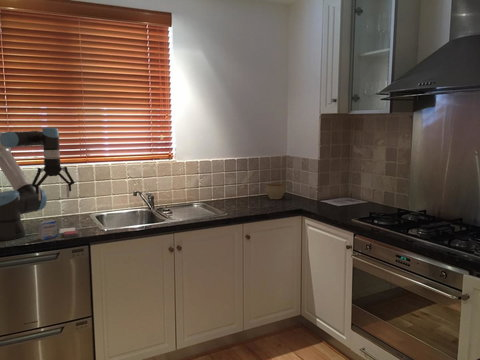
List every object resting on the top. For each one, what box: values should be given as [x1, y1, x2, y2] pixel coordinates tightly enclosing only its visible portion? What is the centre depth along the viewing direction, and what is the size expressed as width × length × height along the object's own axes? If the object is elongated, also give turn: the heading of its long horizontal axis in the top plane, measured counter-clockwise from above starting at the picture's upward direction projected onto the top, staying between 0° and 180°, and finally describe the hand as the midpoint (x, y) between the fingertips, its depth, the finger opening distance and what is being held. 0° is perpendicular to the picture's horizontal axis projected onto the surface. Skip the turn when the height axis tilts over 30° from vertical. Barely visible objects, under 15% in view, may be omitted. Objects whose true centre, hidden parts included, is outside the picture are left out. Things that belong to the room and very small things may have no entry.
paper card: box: [57, 225, 78, 235], centre depth 227 cm, size 10×13×1 cm
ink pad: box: [63, 229, 79, 238], centre depth 218 cm, size 7×7×2 cm
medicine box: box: [37, 219, 58, 241], centre depth 213 cm, size 8×4×9 cm, turn 145°
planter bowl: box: [264, 182, 287, 200], centre depth 317 cm, size 16×16×11 cm
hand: (54, 198), depth 216 cm, fingers open, 13 cm apart
